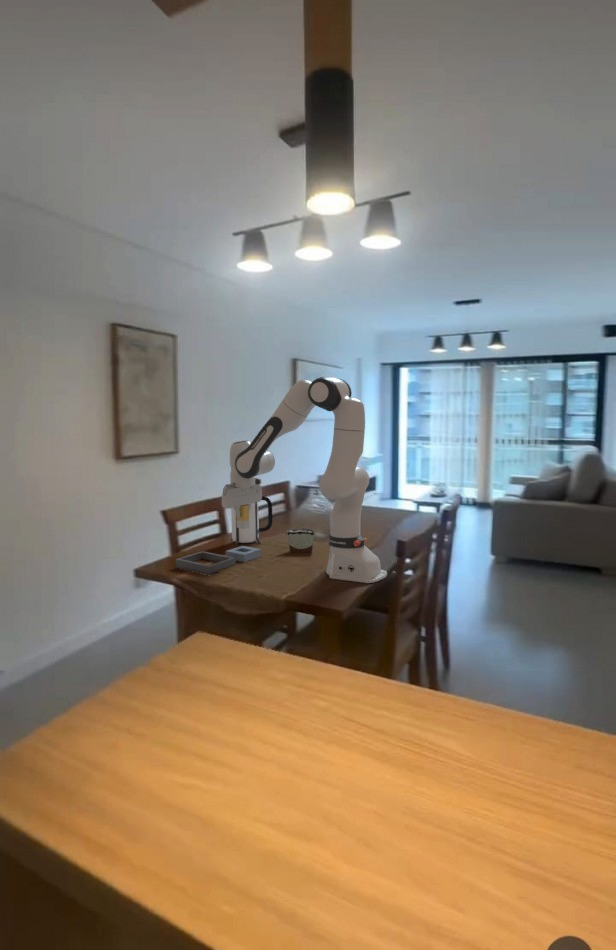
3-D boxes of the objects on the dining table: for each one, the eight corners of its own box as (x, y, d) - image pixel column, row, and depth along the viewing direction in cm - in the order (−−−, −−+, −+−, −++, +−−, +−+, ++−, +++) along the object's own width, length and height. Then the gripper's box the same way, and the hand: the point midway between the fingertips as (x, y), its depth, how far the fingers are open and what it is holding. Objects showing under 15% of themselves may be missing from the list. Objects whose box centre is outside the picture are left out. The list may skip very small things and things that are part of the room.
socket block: (261, 558, 222) (261, 549, 222) (244, 564, 214) (244, 554, 214) (242, 555, 228) (242, 545, 228) (225, 560, 220) (225, 551, 219)
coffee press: (250, 549, 237) (248, 480, 234) (222, 544, 246) (220, 478, 242) (273, 540, 252) (272, 476, 248) (246, 536, 260) (244, 474, 257)
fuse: (249, 527, 220) (248, 505, 218) (244, 528, 217) (243, 506, 216) (241, 526, 222) (241, 504, 221) (236, 527, 219) (236, 505, 218)
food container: (316, 550, 234) (316, 527, 233) (315, 554, 228) (315, 531, 227) (288, 550, 235) (287, 527, 234) (286, 554, 229) (285, 530, 228)
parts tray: (235, 566, 212) (235, 557, 211) (209, 576, 200) (209, 566, 200) (202, 559, 222) (202, 551, 221) (176, 568, 211) (175, 559, 210)
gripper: (229, 485, 207) (230, 521, 209) (264, 479, 224) (265, 512, 225) (217, 484, 211) (218, 519, 212) (252, 478, 227) (253, 511, 229)
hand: (242, 516), depth 219 cm, fingers closed on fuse, 3 cm apart
